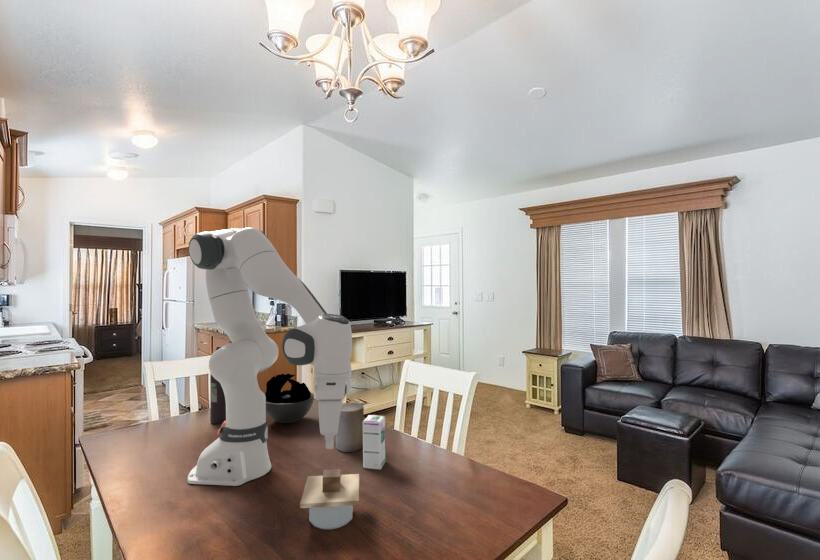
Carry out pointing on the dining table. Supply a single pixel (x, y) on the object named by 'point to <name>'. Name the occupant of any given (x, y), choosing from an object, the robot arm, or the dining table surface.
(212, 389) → the wine bottle
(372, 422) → the syrup box
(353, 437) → the pillar candle
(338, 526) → the bowl
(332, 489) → the lid
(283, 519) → the dining table surface
